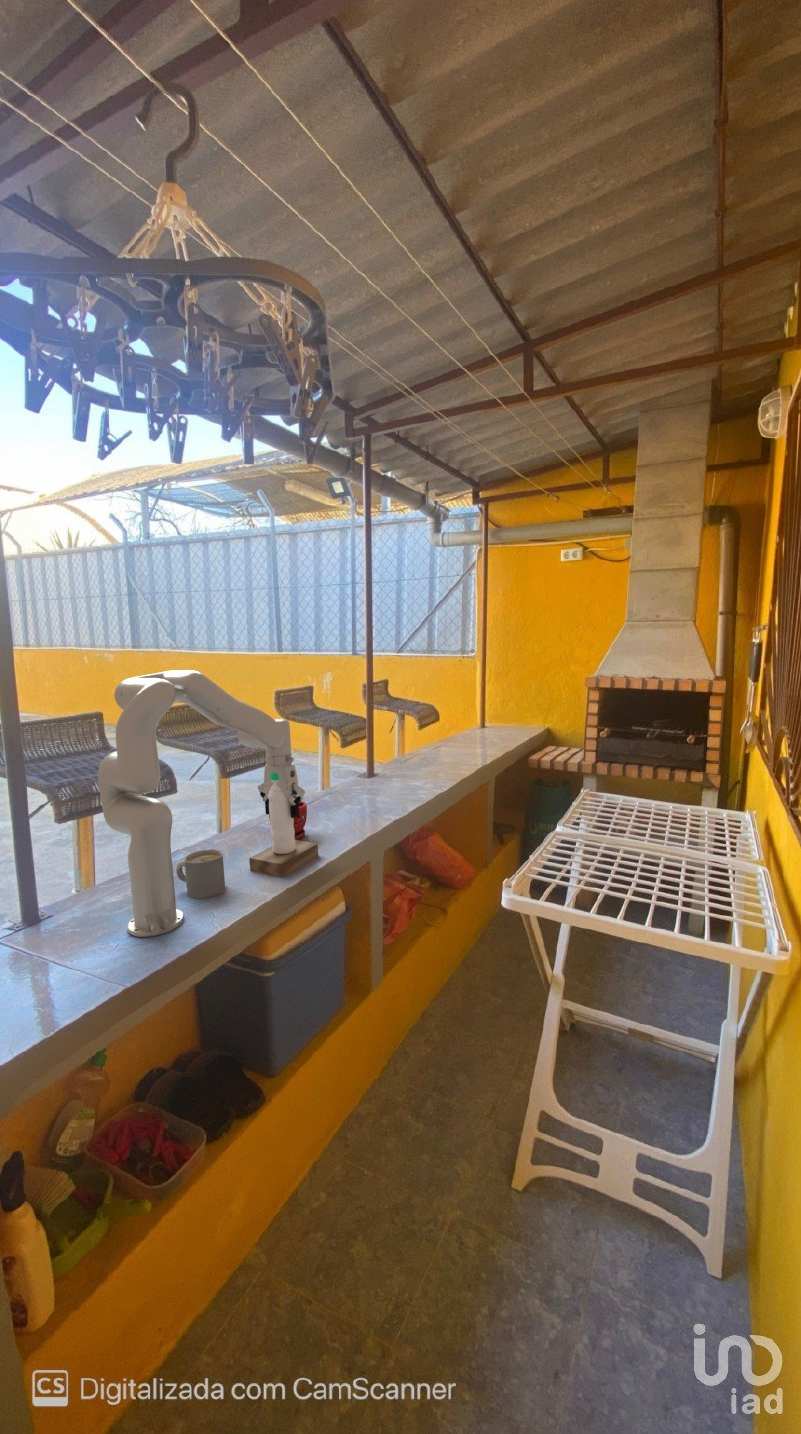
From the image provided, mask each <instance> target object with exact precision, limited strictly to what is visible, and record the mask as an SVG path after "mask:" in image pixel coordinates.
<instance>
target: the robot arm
mask: <svg viewBox="0 0 801 1434" xmlns="http://www.w3.org/2000/svg"><path fill="white" fill-rule="evenodd" d="M113 696H114V701H115V703H116V704H117V706H118V707H119V708H120V709H122V712H121V714H120V715H119V718H117V719H118V720H117V722H116V726H115V744H116V746H115V747H116V751H112V752H110V753H109V754H107V755H106V756H104V758H103V759H102V760H101V762H100V765H99V767H98V772H97V779H98V781H97V782H98V787H99V795H100V801H101V806H102V813H103V817H104V820H105V823H106V824H107V825H108V827H109V828H110V829H112V830H114V831H116V832H118V833H121V834H125V835H128V836H130V843H129V848H128V850H127V865H128V873H129V882H130V883H129V884H130V892H131V903H132V912H133V918H132V919H131V920H129V922H128V923H127V925H126V927H127V932H128V934H130V935H132V936H134V937H140V938H148V937H155V936H160V935H164V934H165V933H168V932H171V931H173V930H175V929H176V928H178V927H179V926H181V924H182V923H183V922H184V918H185V915H184V912H183V911H182V910H180V909H178V908H177V904H176V903H177V902H176V893H175V892H176V891H175V881H174V880H175V879H174V870H173V868H174V867H173V859H172V848H171V847H172V846H171V844H172V842H171V840H172V838H171V836H172V828H173V827H172V826H173V814H172V811H171V809H170V807H169V806H168V804H166V803H165V802H164V801H163V800H160V799H159V798H158V799H157V798H154V797H150V796H145V795H141V794H148V793H151V792H153V791H154V790H156V789H157V787H159V785H160V780H161V767H160V760H159V753H158V744H157V728H158V725H159V723H160V721H161V720H162V718H163V716H164V715H165V714H166V713H167V712H168V711H169V710H170V709H171V707H172V706H173V704H174V703H177V704H178V703H179V704H180V703H181V704H186V705H188V706H189V707H190V708H192V709H193V710H195V711H197V712H198V713H199V714H201V715H202V716H204V717H205V718H207V719H208V720H209V721H210V722H212V723H214V724H216V725H218V726H221V727H224V728H227V729H231V730H236V731H237V740H238V742H239V743H240V744H241V745H242V746H244V747H246V748H254V749H262V750H263V749H264V750H265V761H266V762H265V766H264V772H263V783H261V784H259V785H258V786H257V790H258V792H259V795H260V796H261V798H262V801H263V802H264V807H265V808H264V809H265V815H268V816H269V814H270V813H269V799H268V794H269V791H270V788H271V786H272V785H273V782H272V781H271V778H270V774H271V773H276V774H278V775H279V780H278V781H279V782H277V785H278V786H279V787H280V789H281V791H282V792H283V794H284V795H285V798H288V799H289V801H290V802H291V804H292V805H290V811H291V818H295V817H297V816H299V803H300V801H302V800H303V799H304V796H305V793H306V790H305V789H303V788H302V787H301V786H299V780H298V779H299V778H298V773H297V769H296V766H295V764H294V763H293V762H294V761H295V758H294V757H292V743H291V741H292V739H291V726H290V725H291V724H290V721H289V720H288V719H286V718H272V717H271V716H270V715H268V714H267V713H266V712H264V711H262V710H260V709H258V708H257V707H254V706H252V705H250V704H248V703H246V702H244V701H242V700H240V699H237V698H236V697H234V696H232V695H231V694H229V693H228V692H227V691H225V690H224V689H223V688H222V687H220V686H219V685H218V684H217V683H215V682H214V681H213V680H212V679H210V678H209V677H208V676H206V675H205V674H203V673H202V672H200V671H196V670H194V669H193V670H192V669H181V670H180V669H177V670H176V669H173V670H172V669H171V670H166V671H162V672H156V673H151V674H150V673H149V674H145V675H139V676H133V677H128V678H126V679H123V680H122V681H120V682H119V684H117V686H116V687H115V689H114V695H113ZM272 792H273V791H272Z"/></svg>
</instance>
